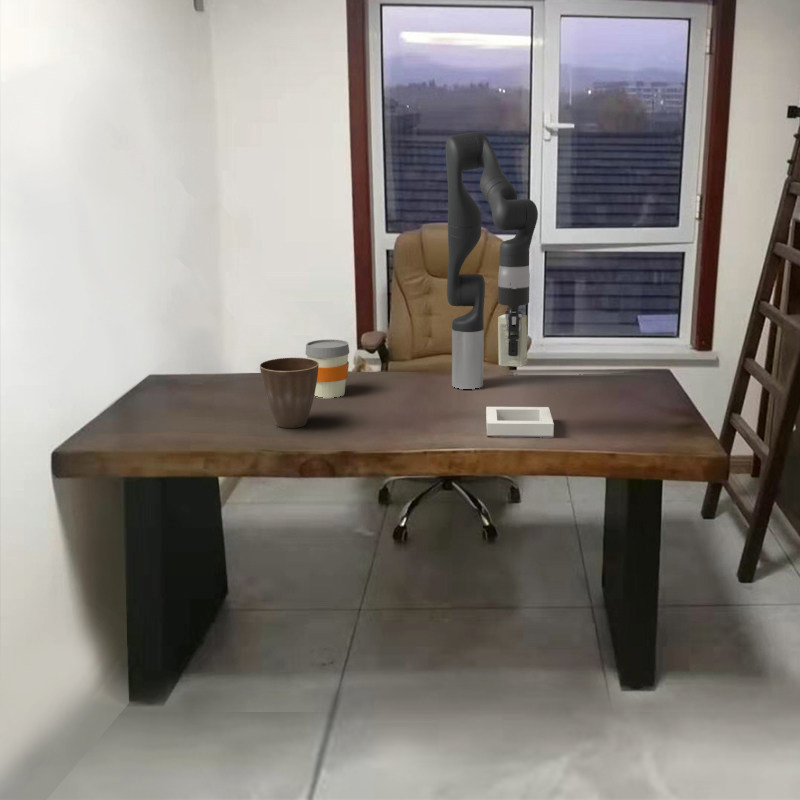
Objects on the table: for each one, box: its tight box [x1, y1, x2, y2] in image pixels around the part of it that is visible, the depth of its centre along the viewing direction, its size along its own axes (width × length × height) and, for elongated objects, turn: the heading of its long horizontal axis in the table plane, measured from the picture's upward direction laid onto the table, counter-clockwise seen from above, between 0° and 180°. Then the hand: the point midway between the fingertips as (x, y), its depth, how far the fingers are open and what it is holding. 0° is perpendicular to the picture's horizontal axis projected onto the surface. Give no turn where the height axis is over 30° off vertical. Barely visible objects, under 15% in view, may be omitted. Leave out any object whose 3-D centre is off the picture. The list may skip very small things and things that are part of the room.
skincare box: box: [497, 314, 528, 368], centre depth 221 cm, size 6×4×12 cm
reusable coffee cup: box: [305, 339, 350, 399], centre depth 260 cm, size 13×13×15 cm
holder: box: [485, 406, 555, 439], centre depth 226 cm, size 15×16×4 cm
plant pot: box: [259, 357, 319, 429], centre depth 231 cm, size 15×15×16 cm
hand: (512, 352), depth 222 cm, fingers closed on skincare box, 5 cm apart
